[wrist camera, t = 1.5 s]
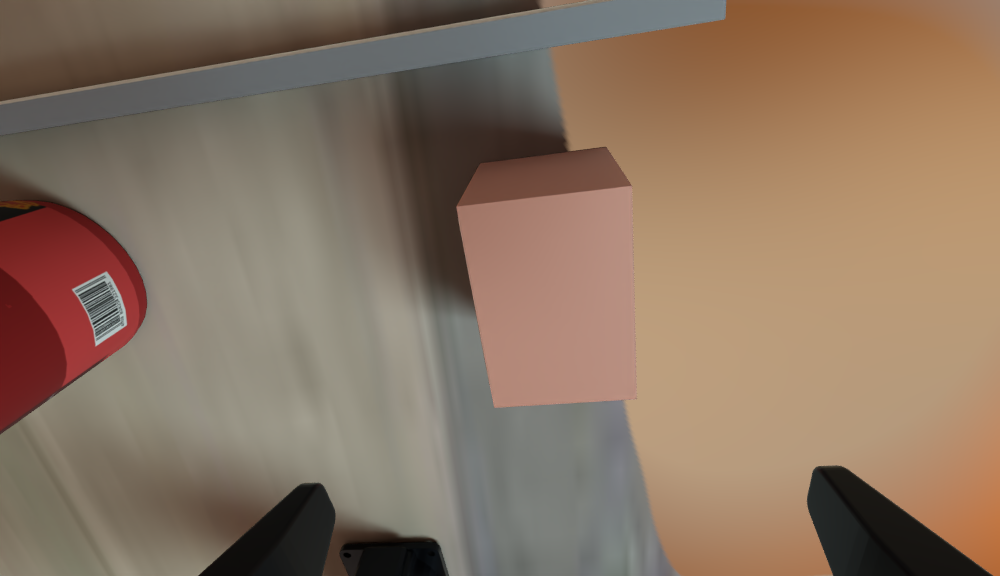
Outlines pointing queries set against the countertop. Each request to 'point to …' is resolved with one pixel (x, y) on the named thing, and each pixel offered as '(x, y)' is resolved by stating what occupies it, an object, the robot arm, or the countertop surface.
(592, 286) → the salmon pink block
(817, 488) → the robot arm
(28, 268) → the canned food
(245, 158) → the countertop surface
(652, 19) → the price rail
